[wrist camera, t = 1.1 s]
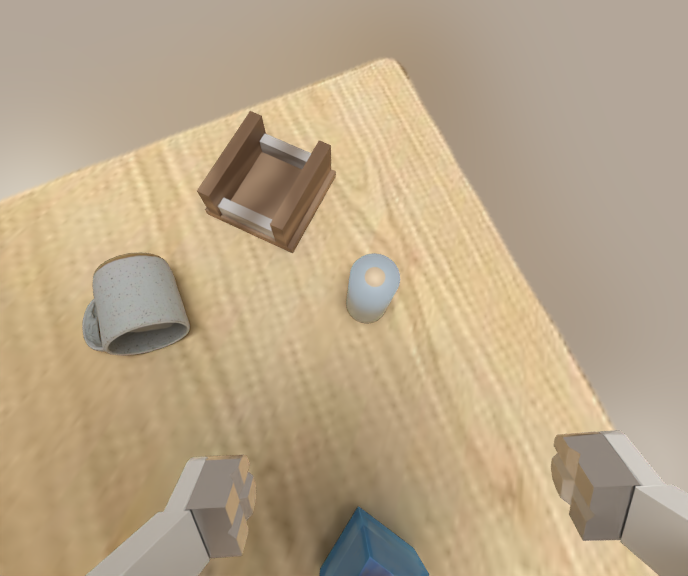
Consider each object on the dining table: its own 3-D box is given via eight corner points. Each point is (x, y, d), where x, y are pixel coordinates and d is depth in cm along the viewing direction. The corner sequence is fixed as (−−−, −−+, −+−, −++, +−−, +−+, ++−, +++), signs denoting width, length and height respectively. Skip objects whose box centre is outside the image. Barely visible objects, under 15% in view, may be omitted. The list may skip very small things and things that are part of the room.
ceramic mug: (178, 265, 44) (146, 237, 37) (201, 332, 42) (172, 317, 35) (83, 302, 43) (30, 280, 36) (101, 373, 41) (49, 366, 34)
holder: (207, 213, 46) (191, 188, 41) (254, 141, 49) (245, 108, 44) (292, 253, 45) (287, 232, 40) (335, 176, 48) (335, 147, 43)
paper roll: (344, 321, 43) (347, 298, 34) (348, 282, 44) (352, 250, 36) (385, 325, 43) (398, 303, 34) (387, 286, 44) (401, 255, 36)
